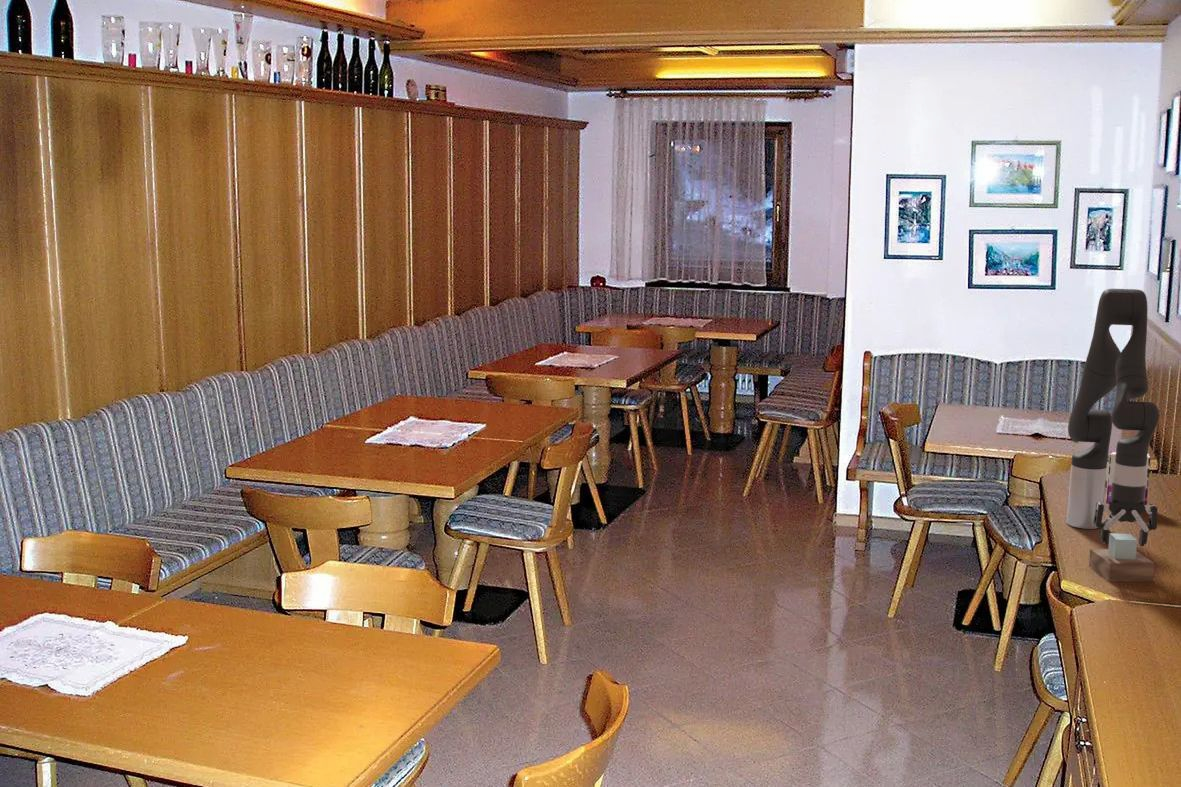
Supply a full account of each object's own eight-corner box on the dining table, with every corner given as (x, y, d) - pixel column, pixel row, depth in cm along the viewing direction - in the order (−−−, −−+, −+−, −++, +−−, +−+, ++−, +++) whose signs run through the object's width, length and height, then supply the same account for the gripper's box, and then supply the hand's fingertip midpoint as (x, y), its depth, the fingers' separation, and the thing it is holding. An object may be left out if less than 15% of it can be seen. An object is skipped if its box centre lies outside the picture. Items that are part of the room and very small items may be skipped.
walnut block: (1088, 568, 305) (1090, 549, 304) (1131, 567, 305) (1133, 548, 304) (1108, 582, 294) (1110, 563, 293) (1152, 582, 294) (1154, 563, 293)
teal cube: (1108, 552, 301) (1109, 533, 300) (1128, 553, 301) (1130, 533, 300) (1114, 558, 296) (1116, 539, 295) (1135, 559, 296) (1137, 540, 295)
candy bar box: (1145, 506, 358) (1150, 453, 355) (1146, 511, 354) (1151, 457, 350) (1104, 502, 362) (1109, 449, 359) (1105, 507, 358) (1109, 453, 355)
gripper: (1154, 478, 297) (1148, 541, 300) (1094, 476, 299) (1089, 538, 302) (1164, 486, 290) (1158, 550, 293) (1102, 484, 292) (1096, 547, 295)
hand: (1123, 544), depth 298 cm, fingers open, 8 cm apart
